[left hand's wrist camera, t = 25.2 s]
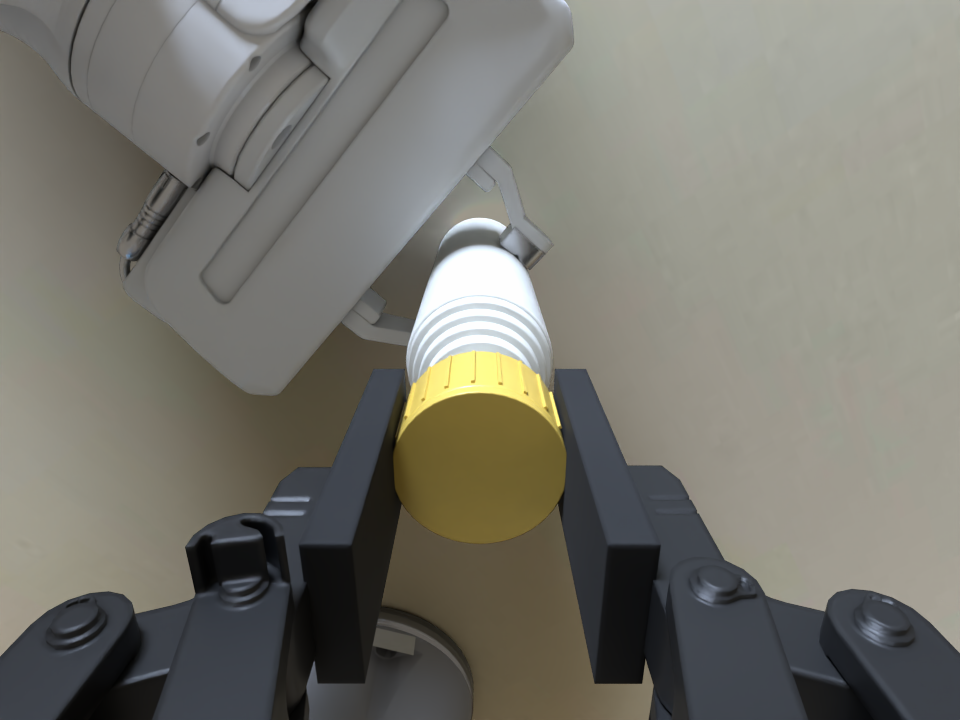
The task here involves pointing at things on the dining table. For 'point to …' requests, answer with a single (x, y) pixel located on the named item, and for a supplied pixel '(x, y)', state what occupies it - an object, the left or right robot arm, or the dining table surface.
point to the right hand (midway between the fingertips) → (495, 304)
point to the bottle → (478, 304)
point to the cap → (479, 449)
